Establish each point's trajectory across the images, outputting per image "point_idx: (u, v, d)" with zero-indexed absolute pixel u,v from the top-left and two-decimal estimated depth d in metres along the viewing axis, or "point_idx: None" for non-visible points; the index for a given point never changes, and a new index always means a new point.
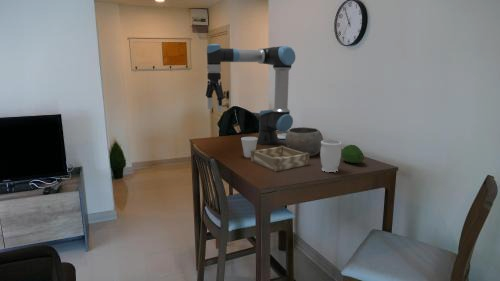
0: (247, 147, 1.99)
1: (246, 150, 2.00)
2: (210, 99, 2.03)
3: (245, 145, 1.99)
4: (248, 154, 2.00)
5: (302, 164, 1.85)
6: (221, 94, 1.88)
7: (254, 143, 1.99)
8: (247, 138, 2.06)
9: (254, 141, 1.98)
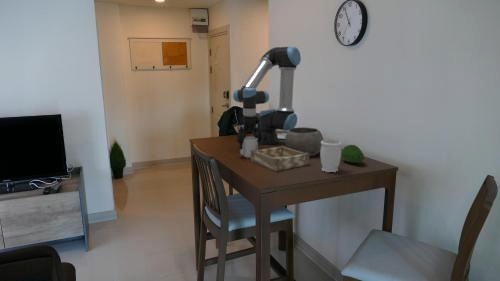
0: (247, 147, 1.99)
1: (246, 150, 2.00)
2: None
3: (245, 145, 1.99)
4: (248, 154, 2.00)
5: (302, 164, 1.85)
6: (237, 138, 1.97)
7: (254, 143, 1.99)
8: (247, 138, 2.06)
9: (254, 141, 1.98)
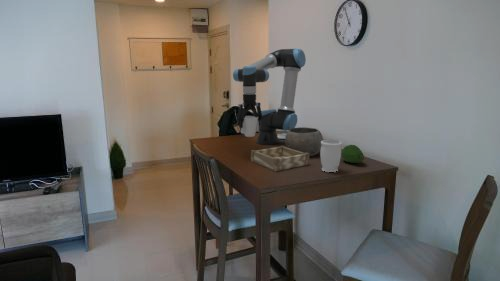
0: (247, 126, 1.96)
1: (246, 129, 1.97)
2: None
3: (245, 124, 1.97)
4: (248, 133, 1.98)
5: (302, 164, 1.85)
6: (238, 117, 1.95)
7: (254, 122, 1.97)
8: (247, 117, 2.04)
9: (254, 120, 1.96)
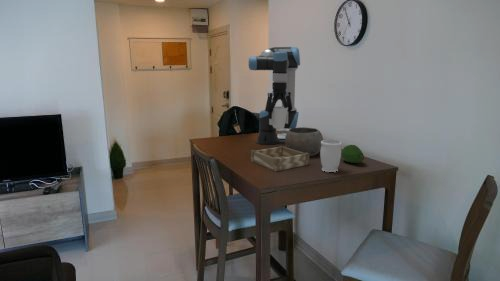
0: (277, 116, 1.81)
1: (276, 120, 1.82)
2: None
3: (275, 114, 1.81)
4: (278, 124, 1.83)
5: (302, 164, 1.85)
6: (267, 107, 1.80)
7: (285, 112, 1.81)
8: (276, 108, 1.89)
9: (285, 110, 1.81)
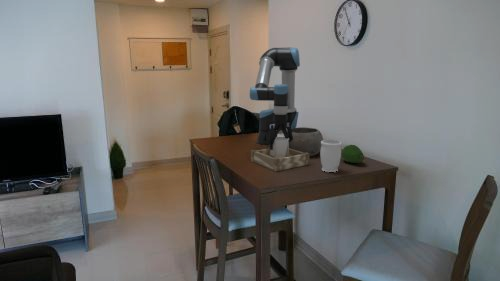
0: (278, 148, 1.84)
1: (277, 151, 1.85)
2: None
3: (276, 145, 1.84)
4: (279, 155, 1.86)
5: (302, 164, 1.85)
6: (268, 138, 1.83)
7: (286, 143, 1.84)
8: (277, 138, 1.92)
9: (286, 141, 1.84)
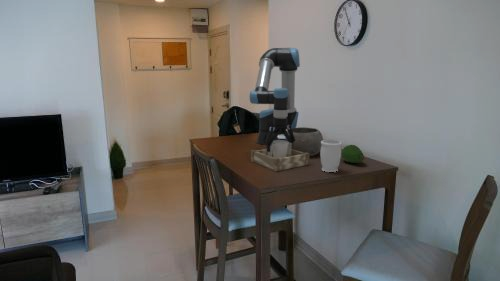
0: (278, 152, 1.85)
1: (277, 155, 1.86)
2: (289, 144, 1.91)
3: (276, 149, 1.85)
4: None
5: (302, 164, 1.85)
6: (266, 140, 1.82)
7: (285, 147, 1.85)
8: (277, 142, 1.92)
9: (286, 145, 1.85)
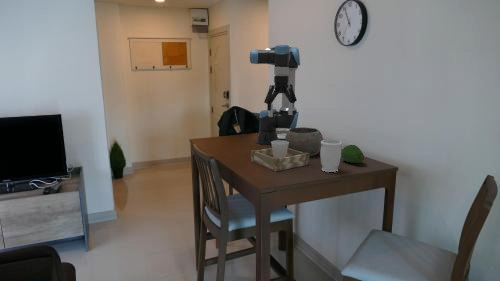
0: (278, 152, 1.85)
1: (277, 155, 1.86)
2: (290, 104, 1.87)
3: (276, 149, 1.85)
4: None
5: (302, 164, 1.85)
6: (266, 98, 1.78)
7: (285, 147, 1.85)
8: (277, 142, 1.92)
9: (286, 145, 1.85)
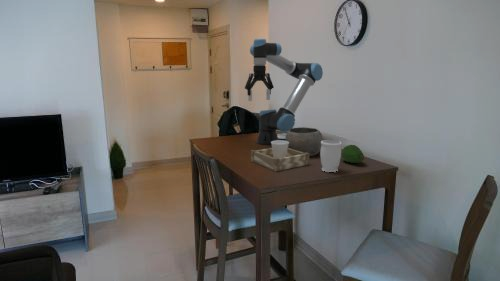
0: (278, 152, 1.85)
1: (277, 155, 1.86)
2: (267, 90, 2.15)
3: (276, 149, 1.85)
4: None
5: (302, 164, 1.85)
6: (246, 85, 2.06)
7: (285, 147, 1.85)
8: (277, 142, 1.92)
9: (286, 145, 1.85)
